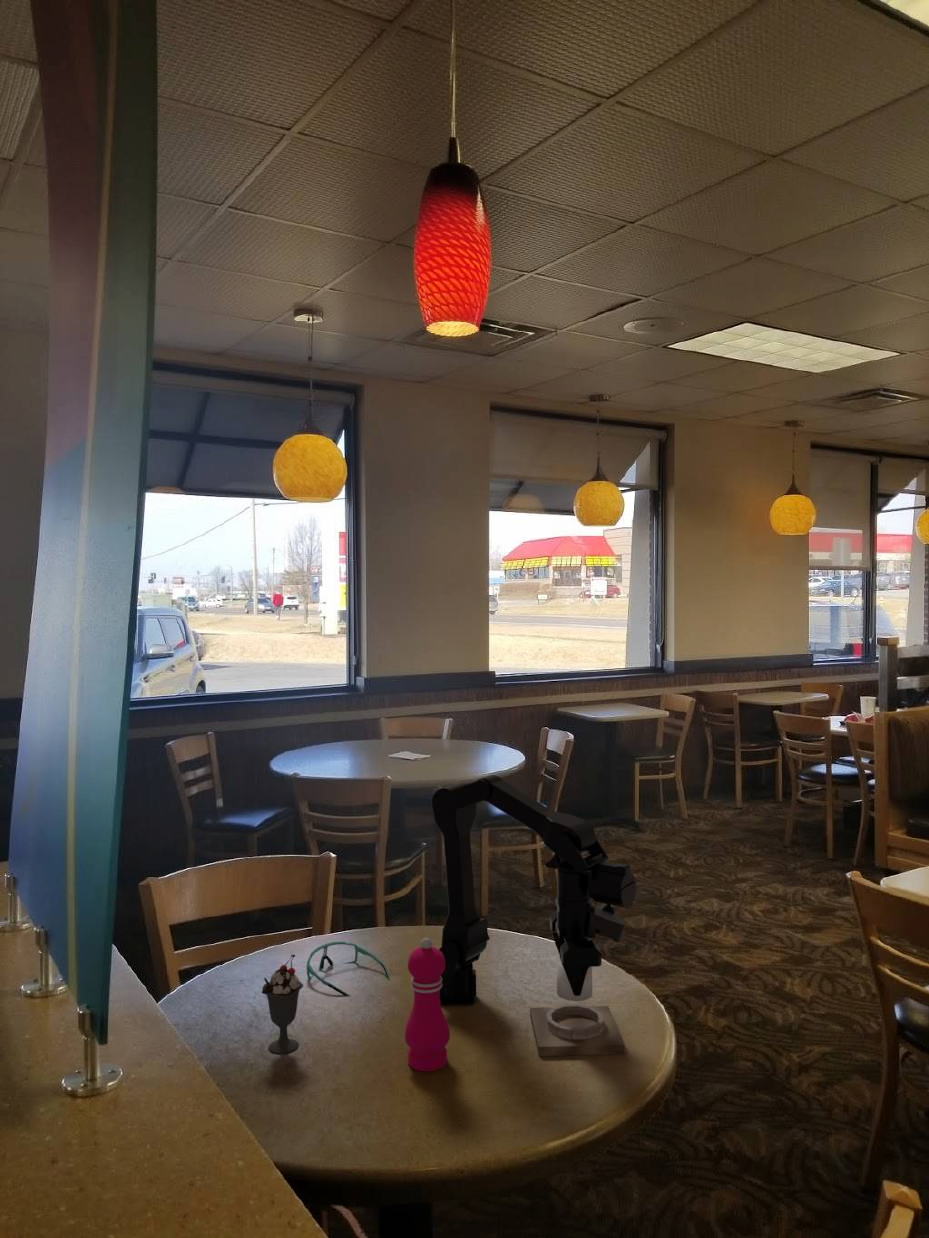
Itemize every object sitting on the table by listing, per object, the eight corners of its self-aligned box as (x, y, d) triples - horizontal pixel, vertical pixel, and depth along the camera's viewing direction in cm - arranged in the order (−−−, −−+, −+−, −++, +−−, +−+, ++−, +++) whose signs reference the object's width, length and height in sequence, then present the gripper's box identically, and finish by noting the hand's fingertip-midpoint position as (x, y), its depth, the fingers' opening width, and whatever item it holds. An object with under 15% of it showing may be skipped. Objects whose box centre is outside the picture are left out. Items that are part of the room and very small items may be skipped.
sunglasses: (350, 957, 188) (351, 934, 187) (397, 985, 178) (398, 961, 177) (294, 978, 178) (295, 953, 177) (340, 1009, 167) (342, 983, 167)
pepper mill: (416, 1077, 140) (414, 949, 139) (397, 1057, 146) (396, 934, 146) (457, 1066, 143) (456, 941, 143) (438, 1046, 149) (436, 926, 149)
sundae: (311, 1040, 152) (310, 952, 152) (291, 1059, 146) (289, 967, 145) (277, 1034, 154) (275, 947, 154) (255, 1053, 148) (254, 962, 147)
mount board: (538, 1055, 146) (538, 1037, 146) (530, 1016, 160) (529, 999, 160) (624, 1053, 146) (624, 1035, 146) (608, 1014, 160) (608, 997, 160)
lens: (559, 1001, 150) (559, 970, 150) (554, 985, 156) (554, 956, 156) (595, 1000, 150) (595, 970, 150) (589, 985, 156) (589, 955, 156)
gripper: (633, 914, 144) (633, 1011, 144) (610, 878, 162) (611, 964, 163) (563, 915, 143) (563, 1012, 144) (549, 879, 162) (549, 965, 162)
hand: (574, 987), depth 153 cm, fingers closed on lens, 6 cm apart
